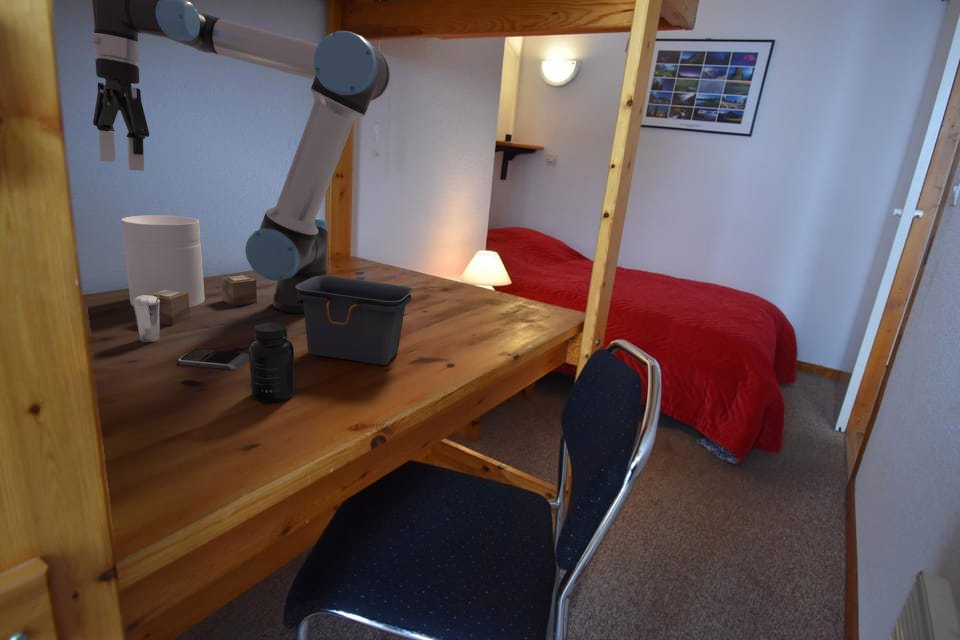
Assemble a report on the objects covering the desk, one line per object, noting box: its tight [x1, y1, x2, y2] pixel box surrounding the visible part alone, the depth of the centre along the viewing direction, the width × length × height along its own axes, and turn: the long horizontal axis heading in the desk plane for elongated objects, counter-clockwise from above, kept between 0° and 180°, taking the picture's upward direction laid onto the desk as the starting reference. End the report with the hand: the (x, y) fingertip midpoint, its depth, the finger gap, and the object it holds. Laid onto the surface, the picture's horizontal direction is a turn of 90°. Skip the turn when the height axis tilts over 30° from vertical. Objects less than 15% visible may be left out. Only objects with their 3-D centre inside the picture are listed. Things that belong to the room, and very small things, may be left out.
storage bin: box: [295, 274, 414, 366], centre depth 106 cm, size 21×16×14 cm
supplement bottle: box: [248, 322, 296, 404], centre depth 87 cm, size 7×7×12 cm
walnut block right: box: [221, 274, 258, 307], centre depth 136 cm, size 6×6×6 cm
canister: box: [120, 214, 206, 308], centre depth 129 cm, size 16×16×20 cm
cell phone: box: [177, 348, 249, 370], centre depth 100 cm, size 6×11×1 cm, turn 88°
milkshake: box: [132, 294, 161, 343], centre depth 106 cm, size 4×5×10 cm
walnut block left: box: [149, 290, 191, 326], centre depth 118 cm, size 6×6×6 cm
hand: (121, 165), depth 117 cm, fingers open, 13 cm apart
